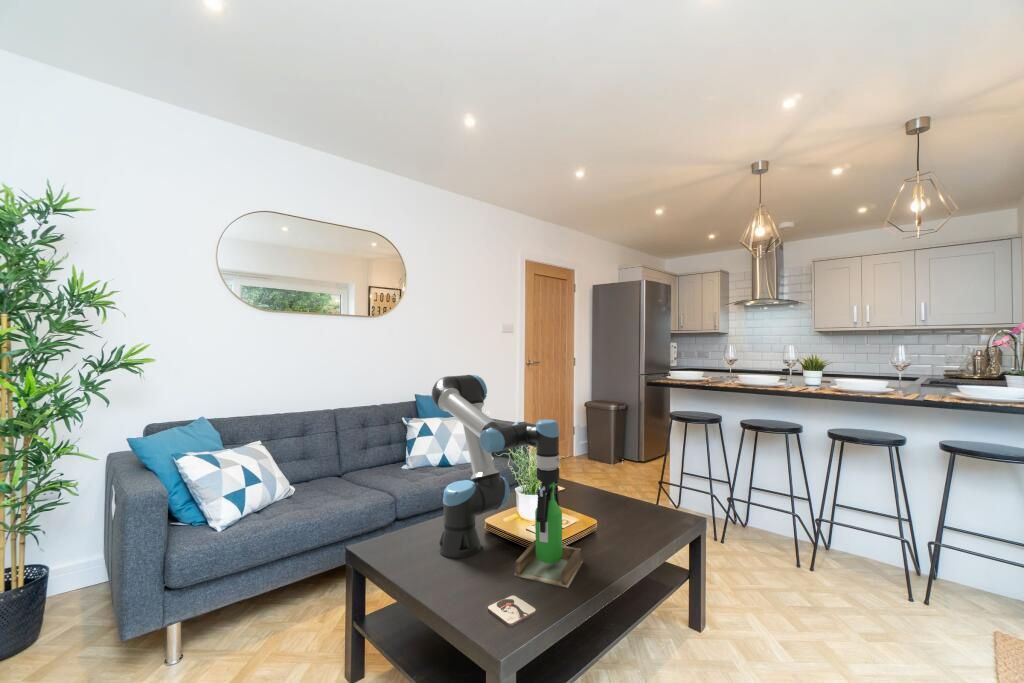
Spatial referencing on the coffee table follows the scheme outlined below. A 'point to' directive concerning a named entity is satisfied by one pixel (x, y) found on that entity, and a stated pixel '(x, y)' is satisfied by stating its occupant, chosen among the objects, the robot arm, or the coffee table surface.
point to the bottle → (550, 534)
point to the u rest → (549, 566)
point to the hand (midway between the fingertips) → (548, 535)
